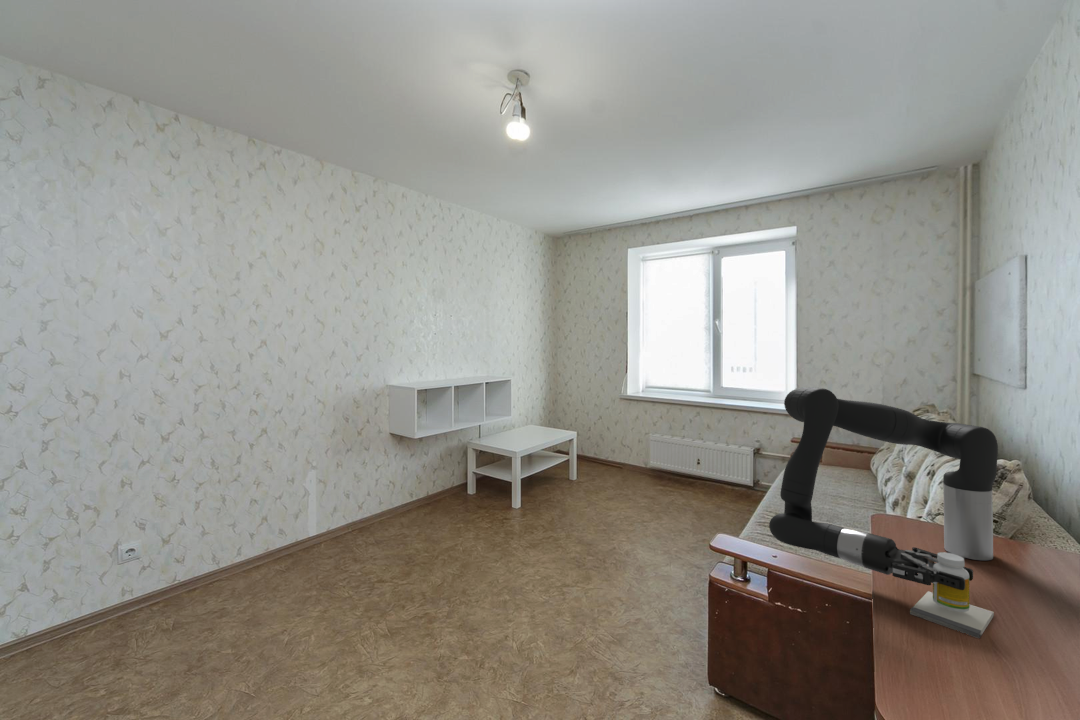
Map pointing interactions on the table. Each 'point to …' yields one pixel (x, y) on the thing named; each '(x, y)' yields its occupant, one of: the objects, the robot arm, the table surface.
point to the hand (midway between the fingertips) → (968, 579)
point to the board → (953, 616)
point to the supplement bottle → (950, 595)
